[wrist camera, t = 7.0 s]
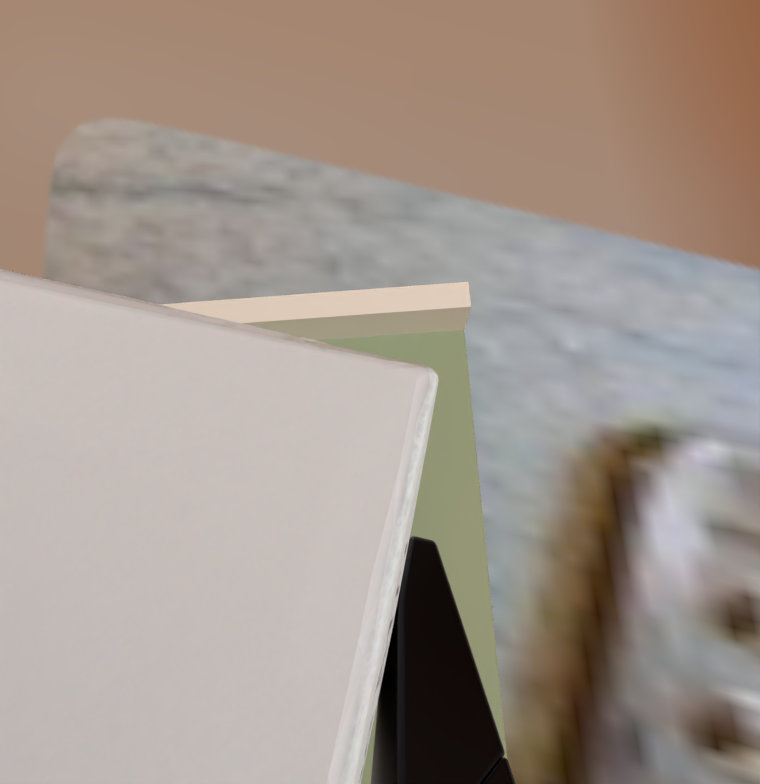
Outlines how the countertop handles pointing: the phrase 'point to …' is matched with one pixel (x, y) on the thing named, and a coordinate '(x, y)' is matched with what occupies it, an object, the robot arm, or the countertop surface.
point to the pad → (446, 437)
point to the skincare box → (195, 542)
